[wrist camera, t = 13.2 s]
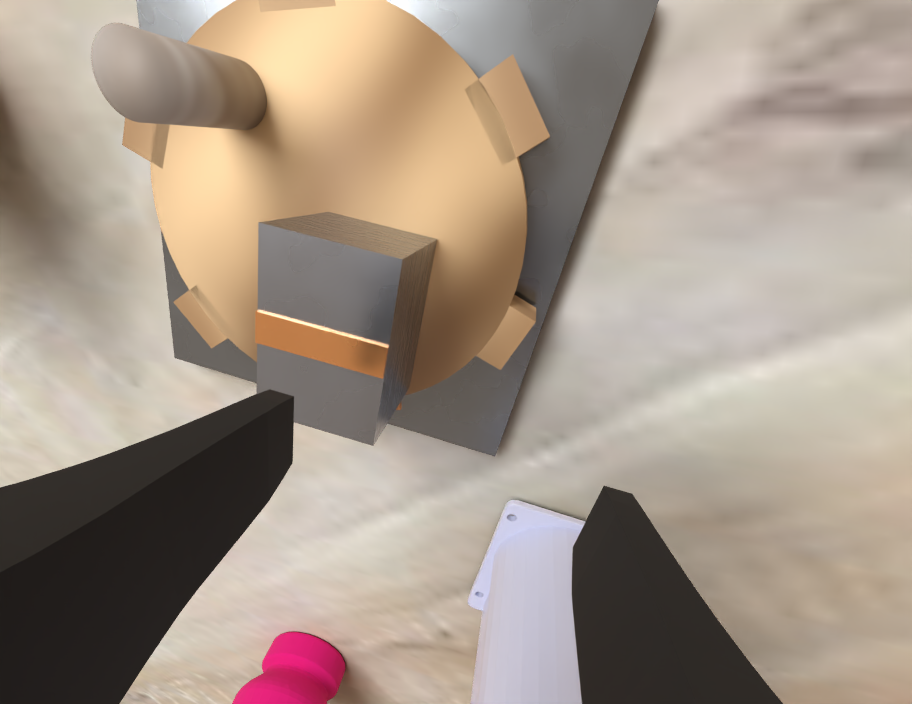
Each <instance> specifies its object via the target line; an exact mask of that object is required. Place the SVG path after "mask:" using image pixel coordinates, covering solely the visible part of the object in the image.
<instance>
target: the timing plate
mask: <svg viewBox="0 0 912 704" xmlns="http://www.w3.org/2000/svg"><path fill="white" fill-rule="evenodd" d="M136 1H137V10H138V19H139V29H142V30H145V31H149V32H152V33H155V34H159V35H162V36H165V37H168V38H172V39H175V40H178V41H181V42H185V43H187V42H188V41H189V39H190V38H191V37H192V36H193V34H194V33H195V32H196V31H197V30H198V29H199V28H200V27H201V26H202V25H203V24H204V23H205V22H206V21H207V20H209V19H210V18H211V17H212V16H213V15H214V14H215V13H216V12H218V11H220V10H221V9H223V8H224V7H226V6H228V5H229V4H231V3H232V2H234V1H236V0H136ZM387 1H388V2H390V3H392V4H394V5H396V6H397V7H399V8H401V9H403V10H405V11H406V12H408V13H410V14H412V15H414V16H415V17H416V18H418V19H419V20H420V21H421V22H423V23H424V24H425V25H427V26H428V27H429V28H431V29H432V30H433V31H435V32H436V33H437V34H438V35H440V36H441V37H442V38H443V39H444V40H445V41H446V42H447V43H448V44H449V45H450V46H451V47H452V48H453V49H454V50H455V51H456V52H457V53H458V54H459V55H460V56H461V57H462V58H463V59H464V61H465V62H466V63H467V64H468V65H469V66H470V68H471V69H472V70H473V71H474V73H475V74H476V75H477V77H478V78H481V77H482V76H483V75H485V74H486V73H487V72H489V71H490V70H492V69H493V68H494V67H496V66H497V65H498V64H500V63H501V62H503V61H504V60H505V59H507V58H508V57H509V56H511V55H512V54H513V55H514V57H515V60H516V62H517V64H518V66H519V69H520V71H521V73H522V75H523V77H524V80H525V82H526V84H527V86H528V88H529V91H530V93H531V95H532V97H533V100H534V102H535V104H536V106H537V108H538V111H539V113H540V115H541V117H542V120H543V122H544V124H545V126H546V128H547V131H548V133H549V135H550V138H548V139H547V140H545V141H543V142H542V143H540V144H539V145H537V146H535V147H534V148H532V149H531V150H529V151H527V152H526V153H524V154H523V155H521V156H519V160H520V164H521V168H522V171H523V175H524V182H525V190H526V198H527V237H526V245H525V253H524V259H523V265H522V269H521V273H520V277H519V281H518V284H517V288H516V291H515V294H514V295H516V296H518V297H519V298H521V299H522V300H524V301H526V302H527V303H529V304H531V305H532V306H534V307H536V322H535V324H534V325H533V326H532V328H531V329H530V331H529V332H528V333H527V335H526V336H525V337H524V339H523V340H522V341H521V343H520V344H519V346H518V347H517V348H516V350H515V351H514V352H513V354H512V355H511V356H510V358H509V359H508V361H507V362H506V363H505V365H504V366H503V367H502V369H501V370H499V369H498V368H496V367H494V366H493V365H491V364H489V363H487V362H486V361H484V360H482V359H481V358H479V357H477V356H475V357H474V358H473V359H472V360H471V361H470V362H468V363H467V364H466V365H465V366H464V367H463V368H461V369H460V370H458V371H457V372H456V373H454V374H453V375H451V376H450V377H449V378H447V379H445V380H443V381H441V382H439V383H437V384H435V385H433V386H431V387H429V388H426V389H424V390H421V391H418V392H415V393H412V394H408V395H405V396H404V397H403V399H402V401H401V405H402V408H401V410H395V412H394V413H393V415H392V417H391V418H390V420H389V421H388V424H391V425H395V426H398V427H401V428H404V429H408V430H411V431H414V432H417V433H421V434H424V435H427V436H430V437H434V438H437V439H440V440H443V441H447V442H450V443H453V444H456V445H460V446H463V447H466V448H469V449H473V450H476V451H479V452H482V453H486V454H489V455H492V456H495V455H496V452H497V450H498V447H499V444H500V441H501V439H502V436H503V433H504V430H505V427H506V425H507V422H508V419H509V416H510V413H511V411H512V408H513V405H514V402H515V400H516V397H517V394H518V391H519V388H520V386H521V383H522V380H523V377H524V374H525V372H526V369H527V366H528V363H529V361H530V358H531V355H532V352H533V349H534V347H535V344H536V341H537V338H538V335H539V333H540V330H541V327H542V324H543V322H544V319H545V316H546V313H547V310H548V308H549V305H550V302H551V299H552V297H553V294H554V291H555V288H556V285H557V283H558V280H559V277H560V274H561V271H562V269H563V266H564V263H565V260H566V258H567V255H568V252H569V249H570V246H571V244H572V241H573V238H574V235H575V232H576V230H577V227H578V224H579V221H580V219H581V216H582V213H583V210H584V207H585V205H586V202H587V199H588V196H589V193H590V191H591V188H592V185H593V182H594V180H595V177H596V174H597V171H598V168H599V166H600V163H601V160H602V157H603V154H604V152H605V149H606V146H607V143H608V141H609V138H610V135H611V132H612V129H613V127H614V124H615V121H616V118H617V115H618V113H619V110H620V107H621V104H622V102H623V99H624V96H625V93H626V90H627V88H628V85H629V82H630V79H631V76H632V74H633V71H634V68H635V65H636V63H637V60H638V57H639V54H640V51H641V49H642V46H643V43H644V40H645V37H646V35H647V32H648V29H649V26H650V24H651V21H652V18H653V15H654V12H655V10H656V7H657V4H658V1H659V0H387ZM161 234H162V243H163V253H164V262H165V271H166V281H167V290H168V299H169V309H170V318H171V327H172V337H173V346H174V356H175V358H177V359H180V360H183V361H187V362H190V363H193V364H196V365H200V366H203V367H206V368H209V369H213V370H216V371H219V372H222V373H226V374H229V375H232V376H235V377H239V378H242V379H245V380H248V381H252V382H255V383H257V362H256V361H254V360H253V359H252V358H251V357H249V356H248V355H247V354H245V353H244V352H243V351H242V350H240V349H239V348H238V347H237V346H236V345H235V344H234V343H233V342H232V341H230V340H229V339H226V340H225V341H223V342H221V343H220V344H218V345H216V346H215V347H213V348H211V347H210V346H209V345H208V344H207V342H206V341H205V340H204V339H203V338H202V336H201V335H200V334H199V333H198V332H197V330H196V329H195V328H194V327H193V325H192V324H191V323H190V322H189V321H188V319H187V318H186V317H185V316H184V315H183V313H182V312H181V311H180V310H179V308H178V307H177V306H176V305H175V304H174V301H175V300H176V299H178V298H179V297H181V296H182V295H183V294H185V293H186V292H187V291H189V289H188V287H187V285H186V284H185V282H184V280H183V279H182V277H181V275H180V273H179V271H178V269H177V267H176V265H175V263H174V261H173V259H172V257H171V254H170V252H169V249H168V247H167V244H166V241H165V238H164V236H163V233H162V230H161Z"/></svg>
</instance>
